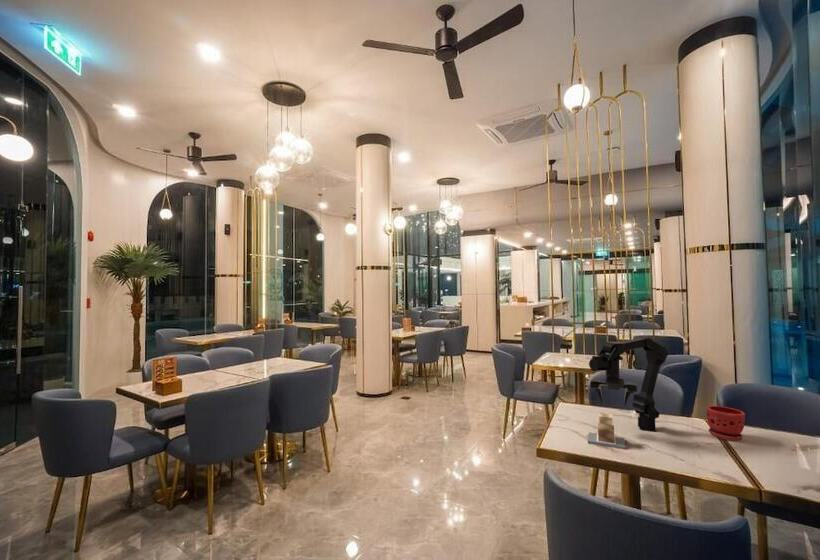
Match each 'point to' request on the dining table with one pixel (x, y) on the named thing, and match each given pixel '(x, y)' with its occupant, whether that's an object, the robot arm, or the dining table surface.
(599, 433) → the walnut block
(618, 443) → the base board
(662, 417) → the dining table surface
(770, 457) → the dining table surface
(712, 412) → the plant pot
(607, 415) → the maple cube
